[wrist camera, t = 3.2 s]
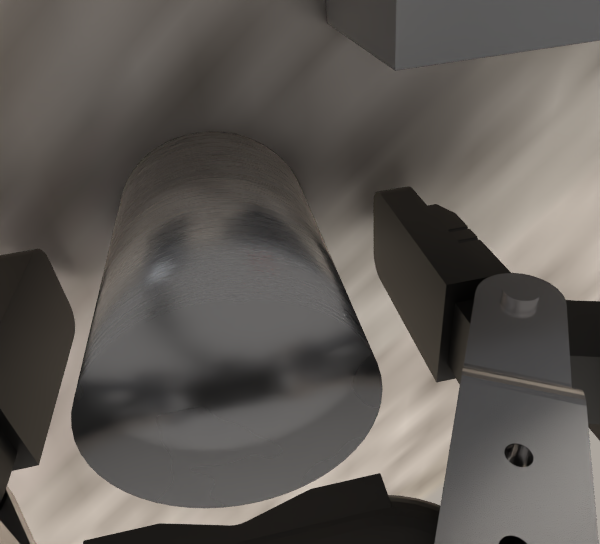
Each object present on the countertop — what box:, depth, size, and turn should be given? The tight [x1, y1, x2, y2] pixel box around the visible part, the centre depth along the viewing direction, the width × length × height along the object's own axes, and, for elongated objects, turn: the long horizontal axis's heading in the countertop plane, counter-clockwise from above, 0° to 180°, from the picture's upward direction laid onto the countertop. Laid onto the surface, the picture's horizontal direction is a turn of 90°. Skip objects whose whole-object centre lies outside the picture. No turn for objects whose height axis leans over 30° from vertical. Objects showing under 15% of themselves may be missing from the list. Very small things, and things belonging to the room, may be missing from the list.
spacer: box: [71, 132, 382, 508], centre depth 10 cm, size 4×4×6 cm
